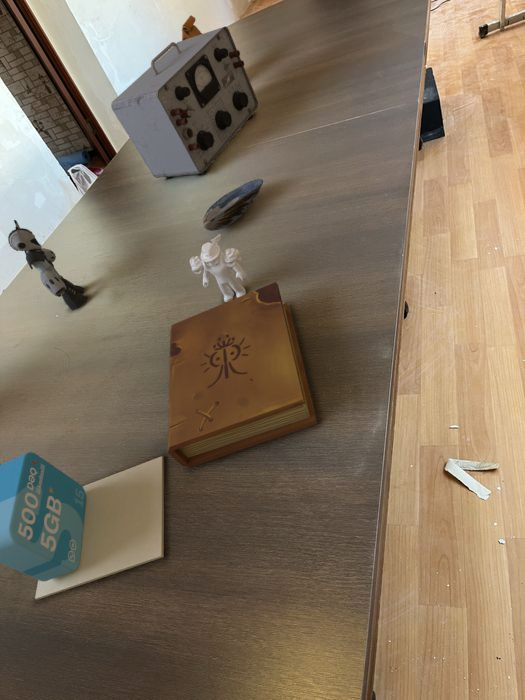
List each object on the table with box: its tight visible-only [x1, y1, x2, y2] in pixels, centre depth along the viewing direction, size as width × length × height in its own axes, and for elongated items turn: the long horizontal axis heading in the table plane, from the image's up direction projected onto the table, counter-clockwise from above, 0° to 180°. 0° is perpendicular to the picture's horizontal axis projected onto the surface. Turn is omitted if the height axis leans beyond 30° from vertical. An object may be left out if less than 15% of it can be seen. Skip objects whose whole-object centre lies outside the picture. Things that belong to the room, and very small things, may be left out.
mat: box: [34, 455, 165, 601], centre depth 64 cm, size 18×14×1 cm
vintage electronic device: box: [111, 26, 259, 180], centre depth 124 cm, size 32×18×25 cm, turn 150°
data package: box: [0, 451, 86, 581], centre depth 61 cm, size 12×4×12 cm, turn 10°
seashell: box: [201, 178, 264, 232], centre depth 101 cm, size 15×12×5 cm
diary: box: [167, 281, 319, 468], centre depth 69 cm, size 23×19×6 cm
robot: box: [7, 219, 89, 311], centre depth 101 cm, size 20×5×20 cm, turn 28°
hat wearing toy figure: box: [189, 233, 247, 303], centre depth 82 cm, size 9×4×12 cm, turn 80°
